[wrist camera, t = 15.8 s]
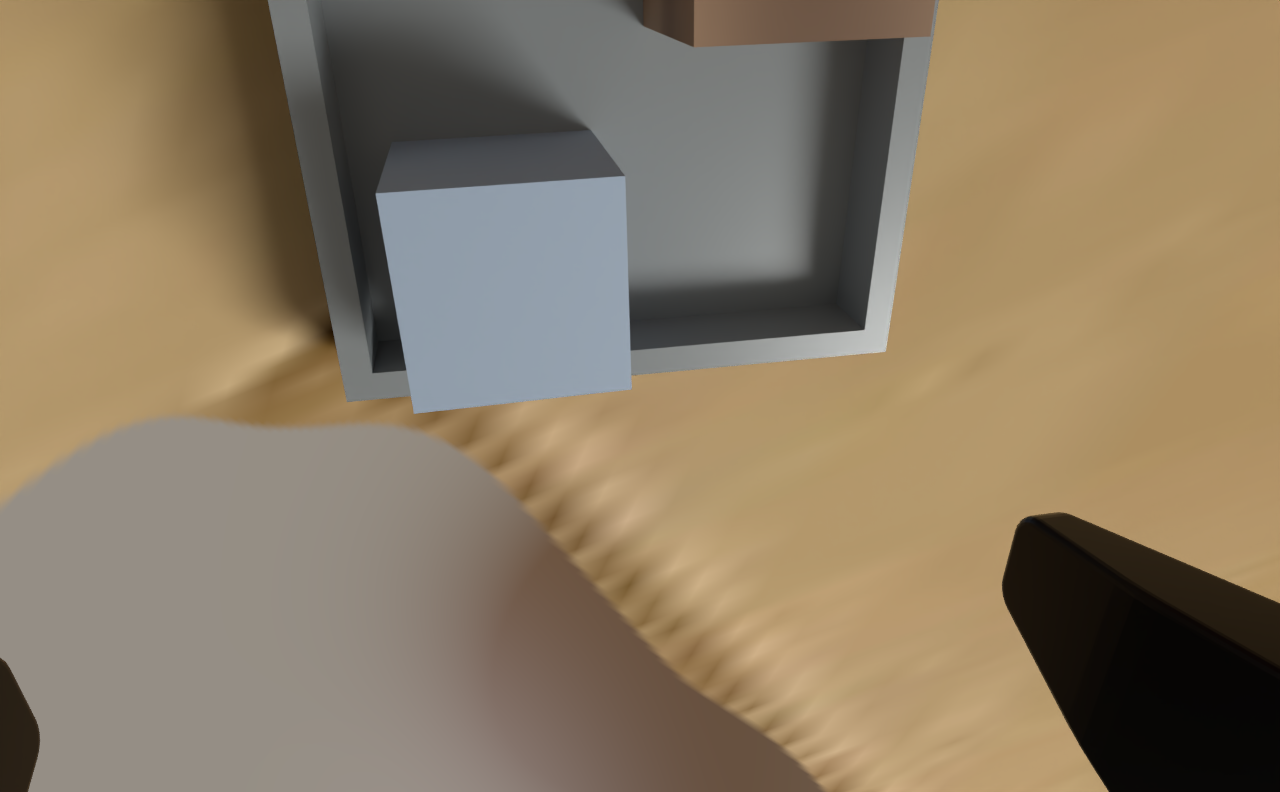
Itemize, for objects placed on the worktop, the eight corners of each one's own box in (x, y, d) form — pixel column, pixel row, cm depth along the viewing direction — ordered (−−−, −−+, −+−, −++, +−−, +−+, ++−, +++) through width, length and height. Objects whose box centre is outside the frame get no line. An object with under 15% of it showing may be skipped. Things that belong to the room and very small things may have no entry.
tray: (920, -282, 15) (986, -316, 14) (846, 315, 21) (885, 351, 19) (233, -314, 13) (197, -357, 12) (357, 356, 19) (346, 402, 17)
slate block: (590, 130, 17) (625, 175, 14) (599, 309, 19) (631, 389, 16) (391, 141, 17) (375, 192, 13) (421, 326, 18) (413, 413, 15)
